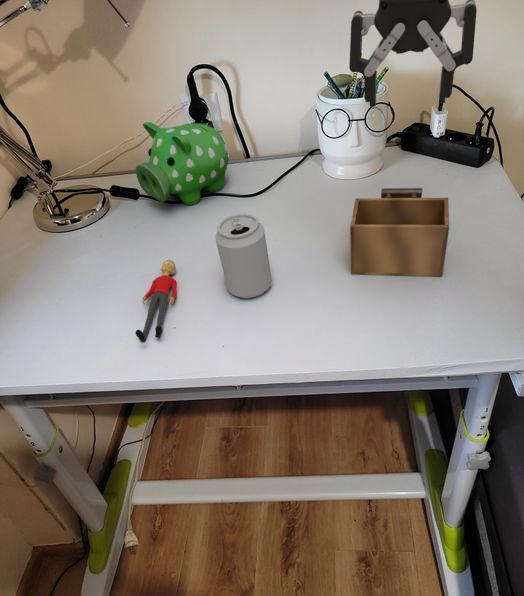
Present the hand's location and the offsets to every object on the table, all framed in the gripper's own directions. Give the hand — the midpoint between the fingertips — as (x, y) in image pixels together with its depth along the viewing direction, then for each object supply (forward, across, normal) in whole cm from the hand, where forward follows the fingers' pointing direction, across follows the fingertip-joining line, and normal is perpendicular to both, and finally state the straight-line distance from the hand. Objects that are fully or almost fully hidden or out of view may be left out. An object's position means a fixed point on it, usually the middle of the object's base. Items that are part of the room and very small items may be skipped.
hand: (406, 102), depth 65 cm
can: (+25, -23, -8) cm, 35 cm away
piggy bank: (+25, -43, +22) cm, 54 cm away
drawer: (+20, 0, -4) cm, 21 cm away
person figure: (+25, -37, -13) cm, 46 cm away
